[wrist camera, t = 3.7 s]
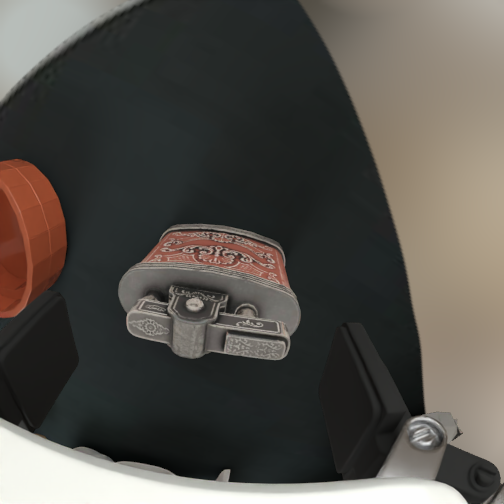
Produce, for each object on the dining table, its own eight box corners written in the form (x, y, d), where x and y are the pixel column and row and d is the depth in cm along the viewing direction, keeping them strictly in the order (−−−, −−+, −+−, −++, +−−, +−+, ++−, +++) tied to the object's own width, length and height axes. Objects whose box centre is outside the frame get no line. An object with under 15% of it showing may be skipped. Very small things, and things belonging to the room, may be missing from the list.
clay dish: (69, 154, 17) (24, 160, 13) (78, 298, 21) (46, 331, 16) (-21, 163, 17) (-60, 171, 12) (-8, 280, 21) (-40, 303, 16)
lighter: (160, 265, 20) (98, 355, 11) (164, 216, 19) (91, 280, 10) (278, 284, 21) (297, 389, 11) (288, 236, 19) (321, 319, 10)
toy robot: (233, 462, 27) (68, 405, 27) (220, 531, 19) (33, 458, 19) (217, 500, 32) (88, 457, 32) (206, 550, 24) (66, 499, 24)
